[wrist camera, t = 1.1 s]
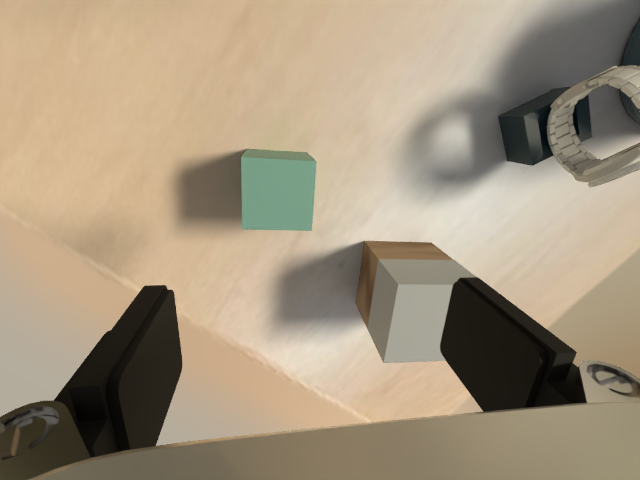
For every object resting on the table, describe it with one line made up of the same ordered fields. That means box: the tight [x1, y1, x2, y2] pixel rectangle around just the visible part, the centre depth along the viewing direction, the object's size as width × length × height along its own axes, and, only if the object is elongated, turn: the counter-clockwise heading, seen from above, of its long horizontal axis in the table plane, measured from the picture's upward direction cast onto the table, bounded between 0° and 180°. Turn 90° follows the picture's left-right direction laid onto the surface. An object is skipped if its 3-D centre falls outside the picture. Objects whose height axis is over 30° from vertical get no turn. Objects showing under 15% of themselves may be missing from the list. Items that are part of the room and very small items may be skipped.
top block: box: [367, 259, 476, 363], centre depth 27 cm, size 7×7×4 cm
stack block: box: [241, 149, 316, 231], centre depth 25 cm, size 5×5×6 cm
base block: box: [356, 241, 453, 328], centre depth 31 cm, size 7×7×4 cm
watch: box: [498, 65, 640, 187], centre depth 24 cm, size 6×8×11 cm
